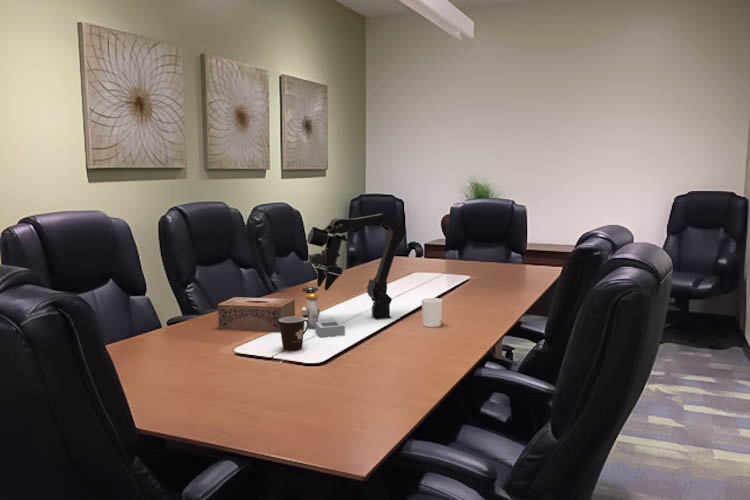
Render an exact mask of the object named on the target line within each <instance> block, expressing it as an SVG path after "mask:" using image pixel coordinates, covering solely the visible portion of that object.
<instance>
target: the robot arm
mask: <svg viewBox="0 0 750 500" xmlns="http://www.w3.org/2000/svg"><path fill="white" fill-rule="evenodd" d="M375 225H376V226H377V225H380V226H381V228H383V230H385V231H386V234H385V240H386V241H385V243H386V244H385V247H384V251H383V254H382V255H381V256H382V257H381V259H380V261H379V266H378V268H377V272H376V275H375V277H374V278H373V279H371V278H369V280H368V285H367V287H366V289H367V290H366V291H367V295H368V297H369V298H371V301H372V305H371V317H372V318H374V319H376V320H380V319H382V318H383V319H392V316H391V312H390V311H391V308H390V307H391V305H390V304H392V300H393V299H392V297H391V296H390V295H389V294H388V293H387V292H388V276H389V275H390V274H389V273H390V271H391V268H392V265H393V261H394V258H395V255H396V252H397V250H398V246H400V244H401V243H402V242H403V240H404V238H405V236H406V234H407V229H406V227H405V225H403V224H400V223H398V222H396V221H394V219H391V218H390V217H389V216H388V215H387V214H385V213H377V214H373V215H366V216H360V217H354V218H339V217H338V218H332V219H331V221H330V222H329V224H328V225H327V226H326V227H325V228H324V229H321V228H318V227H315V226H312V227H311V230H309V233H308V235H307V238H306V239H307V240H306V241H307V242H306V243H307V244H309V245H312V246H316V247H321V248H323V247H324V246H325V247H324V249H322V250H321V253H320V252H318V253H313V254H308V255H307V258H308V264H310V265H312V266H313V269H314V270H315V272H316V275H317V276H316V281H317V282H316V284H317V285H316V287H321V286H322V284H323V283H324V291H328V290H329V288H330V287H331V286H333V284H334V283H335V282H336V281H337V279H338V278H339V277H340V276H342V274H343V270H344V269H342V266H339V265H338V264H337V261H338V258H340V257H341V254H340V251H341V246H342V242H343V241H344V242H348V241H349V240H348V238H347V236H346V234H345V233H348V232H350V231H352V230H355V229H359V228H363V227H369V226H375ZM339 234H341V235H339ZM324 281H325V282H324Z"/></svg>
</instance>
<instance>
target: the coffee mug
mask: <svg viewBox="0 0 750 500" xmlns="http://www.w3.org/2000/svg"><path fill="white" fill-rule="evenodd" d="M305 322H306V326H305ZM279 325H280V331H281V332H280V337H281V343H282V344H281V345H282V350H283V351H285V352H296V351H297V352H298V351H300V350H302V349H303V343H304V335H305V333H306V332H307V330H309V328H308V327H309V322H308V319H305V317H304V316H303V317H301V316H295V317H285V318H281V319H279Z"/></svg>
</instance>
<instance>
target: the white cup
mask: <svg viewBox="0 0 750 500" xmlns="http://www.w3.org/2000/svg"><path fill="white" fill-rule="evenodd" d="M421 311H422V312H421V313H422V314H421V315H422V325H423V327H426V328H438V327H441V325H442V324H441V323H442V313H443V312H442V311H443V299H442V298H438V297H426V298H422V299H421Z"/></svg>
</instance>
